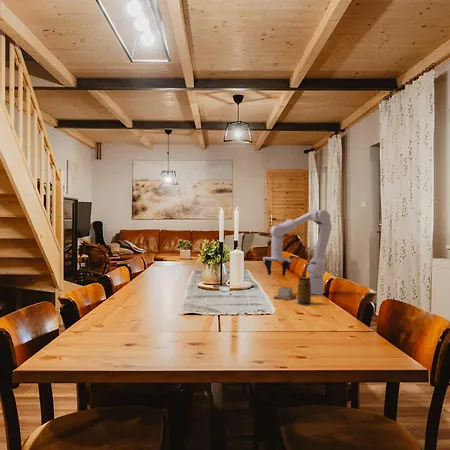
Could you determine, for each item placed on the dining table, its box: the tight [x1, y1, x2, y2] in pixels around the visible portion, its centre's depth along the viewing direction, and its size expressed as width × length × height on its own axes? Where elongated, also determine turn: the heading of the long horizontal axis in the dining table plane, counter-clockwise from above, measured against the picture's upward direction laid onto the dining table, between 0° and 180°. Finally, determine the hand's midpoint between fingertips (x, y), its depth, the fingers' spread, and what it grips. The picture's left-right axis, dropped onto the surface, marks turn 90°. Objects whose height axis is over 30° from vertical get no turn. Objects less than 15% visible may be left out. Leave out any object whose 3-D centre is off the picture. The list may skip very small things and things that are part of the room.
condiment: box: [293, 276, 317, 306], centre depth 210 cm, size 7×8×12 cm
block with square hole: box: [277, 286, 293, 297], centre depth 224 cm, size 5×5×4 cm
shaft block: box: [273, 294, 297, 301], centre depth 224 cm, size 10×8×4 cm
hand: (276, 275), depth 233 cm, fingers open, 7 cm apart
